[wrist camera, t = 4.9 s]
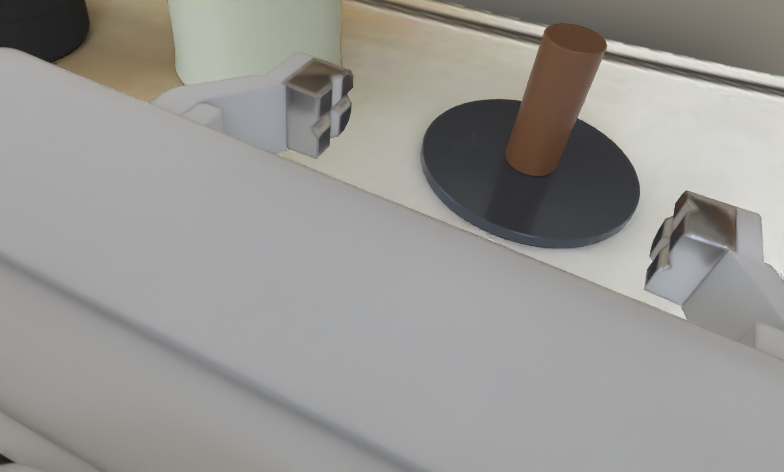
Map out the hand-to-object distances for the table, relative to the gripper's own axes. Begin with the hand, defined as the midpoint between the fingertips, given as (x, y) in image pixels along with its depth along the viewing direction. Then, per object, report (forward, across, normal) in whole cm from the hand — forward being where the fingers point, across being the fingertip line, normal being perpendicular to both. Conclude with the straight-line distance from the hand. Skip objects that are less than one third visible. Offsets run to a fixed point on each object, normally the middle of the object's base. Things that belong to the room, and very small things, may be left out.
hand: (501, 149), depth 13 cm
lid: (+12, 0, +9) cm, 15 cm away
